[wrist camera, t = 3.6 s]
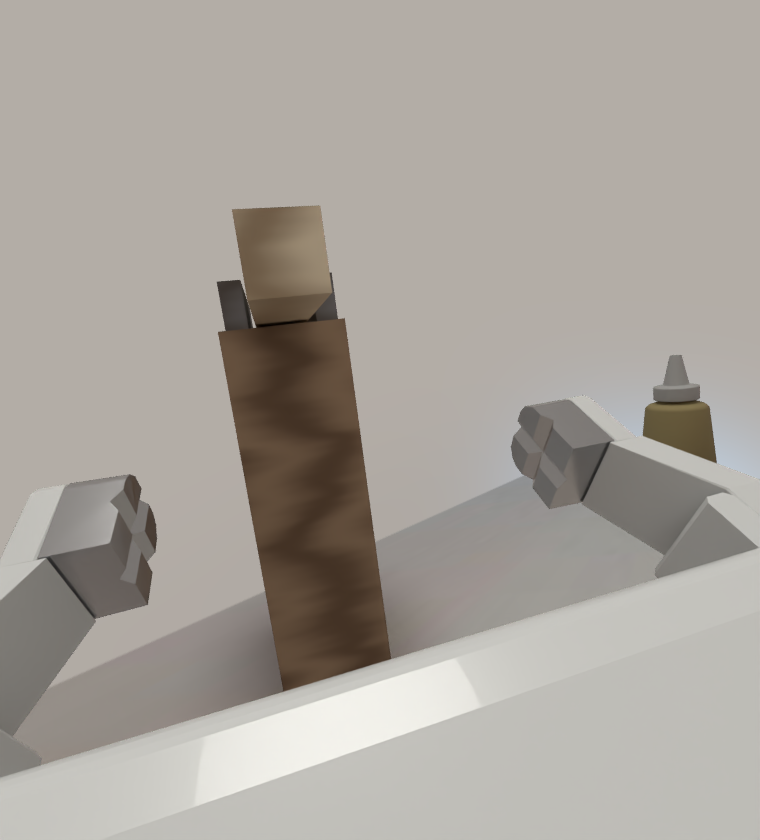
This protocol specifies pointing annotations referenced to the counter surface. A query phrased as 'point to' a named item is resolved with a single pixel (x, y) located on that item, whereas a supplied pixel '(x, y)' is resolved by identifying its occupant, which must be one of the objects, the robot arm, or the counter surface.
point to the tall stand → (306, 488)
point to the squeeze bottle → (680, 414)
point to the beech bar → (283, 263)
